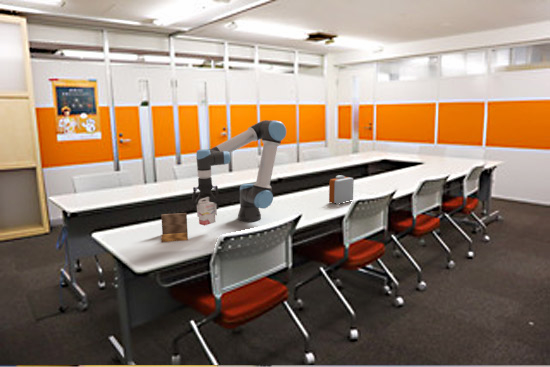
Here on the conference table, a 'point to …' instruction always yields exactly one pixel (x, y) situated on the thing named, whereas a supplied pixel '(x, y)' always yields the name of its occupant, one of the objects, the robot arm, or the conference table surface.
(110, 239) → the conference table surface
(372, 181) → the conference table surface
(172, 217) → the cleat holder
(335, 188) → the grey and orange case
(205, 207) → the ink cartridge box
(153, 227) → the conference table surface
